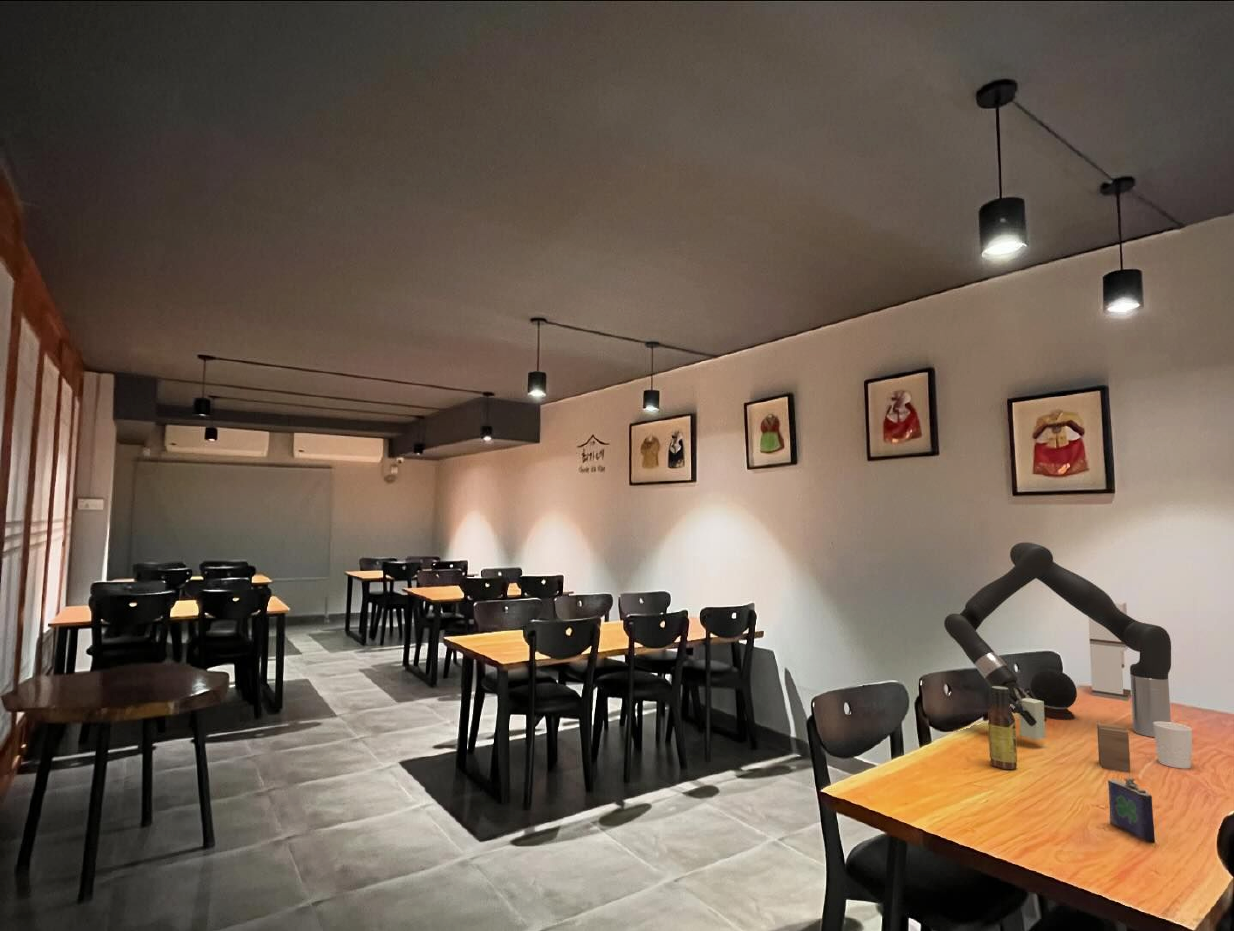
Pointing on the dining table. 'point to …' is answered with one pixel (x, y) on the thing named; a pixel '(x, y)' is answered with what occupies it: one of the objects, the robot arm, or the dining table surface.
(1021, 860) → the dining table surface
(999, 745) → the sauce bottle
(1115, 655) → the mini white fridge
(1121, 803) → the flask
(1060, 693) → the black oval
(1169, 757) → the white cup
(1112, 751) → the tower lower
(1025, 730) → the sage block
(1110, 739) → the tower upper
